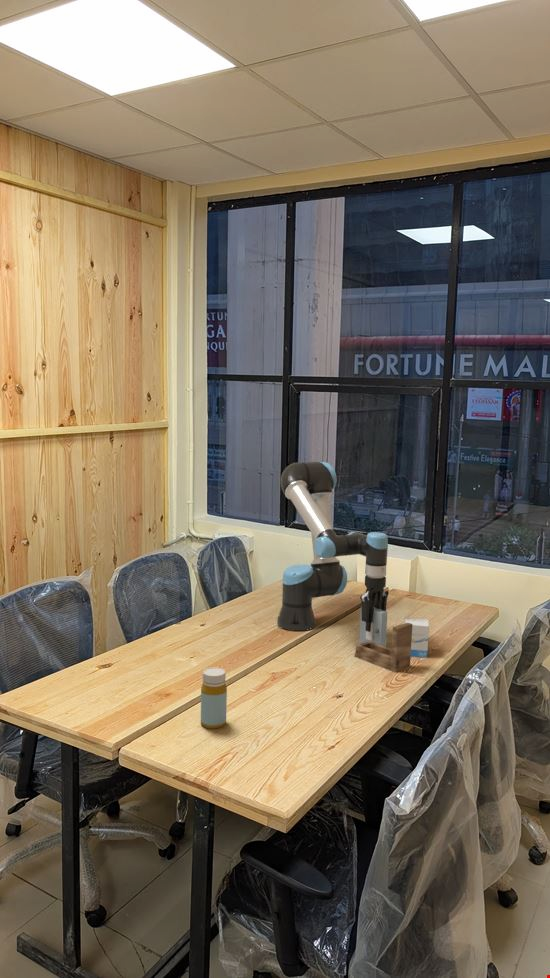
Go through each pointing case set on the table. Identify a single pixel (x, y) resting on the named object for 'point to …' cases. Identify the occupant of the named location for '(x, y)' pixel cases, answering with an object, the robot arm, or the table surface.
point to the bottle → (213, 698)
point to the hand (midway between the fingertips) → (372, 638)
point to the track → (389, 650)
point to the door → (375, 627)
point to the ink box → (419, 636)
